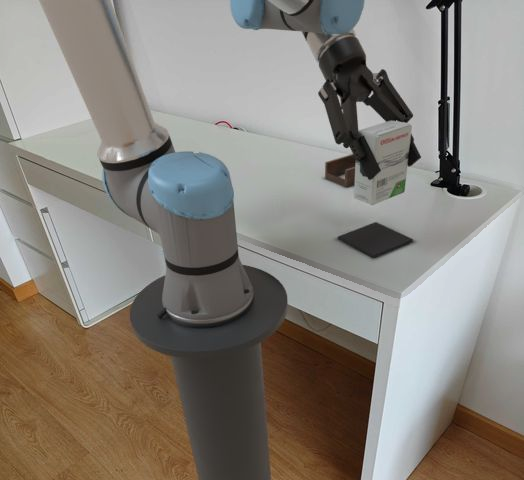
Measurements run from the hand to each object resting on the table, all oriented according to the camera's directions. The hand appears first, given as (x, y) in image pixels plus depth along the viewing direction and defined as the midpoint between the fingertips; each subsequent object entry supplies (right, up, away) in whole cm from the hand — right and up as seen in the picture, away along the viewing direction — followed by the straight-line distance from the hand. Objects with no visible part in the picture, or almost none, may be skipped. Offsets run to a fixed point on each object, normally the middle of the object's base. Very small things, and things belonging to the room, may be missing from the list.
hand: (395, 168), depth 84 cm
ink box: (-1, -3, +6) cm, 7 cm away
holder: (0, +12, +38) cm, 40 cm away
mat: (-1, -10, +11) cm, 15 cm away
